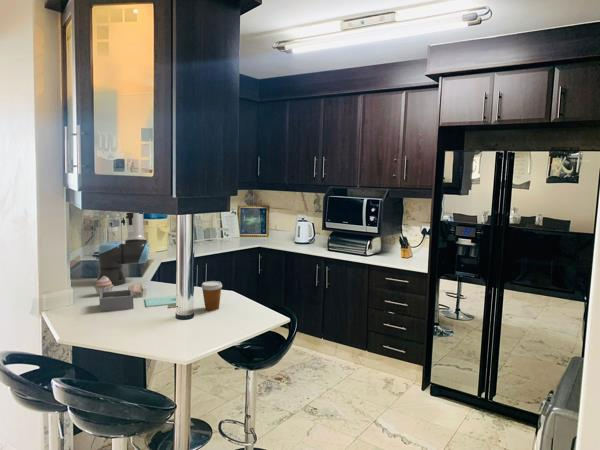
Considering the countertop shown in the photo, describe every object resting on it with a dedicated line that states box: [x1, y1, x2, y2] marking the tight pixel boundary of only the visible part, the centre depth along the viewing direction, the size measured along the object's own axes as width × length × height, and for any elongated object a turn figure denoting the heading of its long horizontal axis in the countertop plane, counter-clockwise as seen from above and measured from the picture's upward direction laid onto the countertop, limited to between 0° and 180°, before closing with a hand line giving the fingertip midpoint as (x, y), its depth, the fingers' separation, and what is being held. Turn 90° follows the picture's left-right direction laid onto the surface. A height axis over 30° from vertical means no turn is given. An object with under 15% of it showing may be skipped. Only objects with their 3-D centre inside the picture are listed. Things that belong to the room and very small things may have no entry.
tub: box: [98, 289, 134, 313], centre depth 209 cm, size 12×14×7 cm
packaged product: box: [127, 282, 147, 299], centre depth 232 cm, size 18×5×10 cm
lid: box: [144, 295, 177, 308], centre depth 218 cm, size 13×20×5 cm, turn 112°
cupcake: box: [93, 276, 114, 297], centre depth 231 cm, size 9×9×10 cm
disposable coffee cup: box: [201, 280, 223, 311], centre depth 210 cm, size 10×10×12 cm
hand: (130, 230), depth 220 cm, fingers open, 13 cm apart
